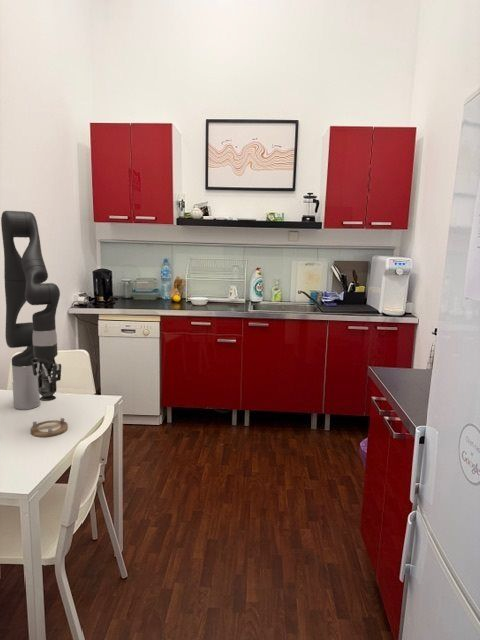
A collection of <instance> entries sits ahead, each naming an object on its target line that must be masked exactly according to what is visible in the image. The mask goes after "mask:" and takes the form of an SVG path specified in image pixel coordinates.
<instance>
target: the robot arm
mask: <svg viewBox="0 0 480 640" xmlns="http://www.w3.org/2000/svg"><path fill="white" fill-rule="evenodd" d="M0 219H1V220H0V222H1V223H0V224H1V237H2V245H3V246H2V247H3V257H4V259H3V262H4V268H3V269H4V274H3V275H4V277H3V278H4V293H5V308H6V309H5V335H4V336H5V342H6V345H7V347H8V348H10V349H17V348H24V347H25V349H24V350H23V351H22V352H19V353H17V354H15V355H14V356H12V358H11V370H12V371H11V372H12V382H11V383H12V394H13V395H12V396H13V397H12V398H13V406H14V409H16V410H31V409H35V408H38V407H39V406H40V405H41V401H40V400H39V399H40V398H41V397H40V396H41V395H40V393H39V391H38V389H39V388H40V387H42V379H41V378H42V369H44V371H45V374H46V376H47V377H48V379H49V392H50V393H54V392H55V393H56V392H57V382H58V381H62V379H61V378H62V364H61V363H57V362H56V359H55V358H56V357H57V356H58V355H59V354H58V334H57V329H56V315H57V308H58V305H59V300H60V297H61V291H60V288H59V286H58V285H57V284H55V283H53V282H48V283H47V282H46V281H47V280H48V277H49V274H48V270H47V267H46V264H45V261H44V258H43V253H42V245H41V239H40V234H39V233H40V231H39V228H38V222H37V221H38V220H37V219H36V216H35V214H34V213H32V212H31V211H23V210H22V211H18V210H4V211H3V212H2V213H1V217H0ZM14 238H25V239H27V238H29V242H28V245H27V247H26V249H25V250H24V252H23V253H22V256H21V254H20V253H19V251H18V250H17V247H16V245H15V241H14V240H15V239H14ZM26 303H28V304H29V305H31V306H41V305H42V306H43V305H46V307H45V308H44V309H43V310H39V311H36V312H34V313H32V315H31V316H32V318H31V319H32V322H19V323H17V319H18V316H19V314H20V311H21V309H22V308H23V306H24V305H25V304H26ZM49 372H51V373H49ZM51 377H52V378H51ZM55 393H54V394H55Z"/></svg>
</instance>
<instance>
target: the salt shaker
mask: <svg viewBox="0 0 480 640" xmlns="http://www.w3.org/2000/svg"><path fill="white" fill-rule="evenodd" d="M49 373H52V372H49ZM51 378H52V376H51ZM41 379H42V387H40V388H39V389H38V391H39V393H40V396H41V397H40V399H39V400H40V402H50V401H55V400H56V398H57V397H56V395H54V394H55V393H56V392H54V393H50V392H49V379H48V377H47V376H46V374H45V371H44V369H42V378H41Z"/></svg>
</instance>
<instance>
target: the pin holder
mask: <svg viewBox="0 0 480 640" xmlns="http://www.w3.org/2000/svg"><path fill="white" fill-rule="evenodd" d="M68 429H69V426H68V423H67V422H66V421H65V418H64V417H61V418H60V420H57V419H55V420H45V421H40V422H38V423H37V421H33V422H32V426H31V428H30V435H32V436H33V437H36V438H52V437H56V436H60V435H62V434H65V432H66V431H68Z"/></svg>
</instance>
